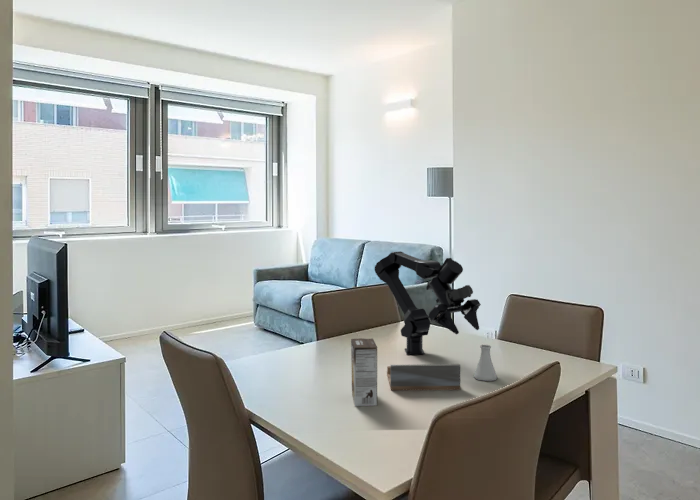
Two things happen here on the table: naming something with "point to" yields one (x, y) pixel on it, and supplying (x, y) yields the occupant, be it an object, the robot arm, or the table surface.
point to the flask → (485, 366)
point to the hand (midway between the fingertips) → (468, 331)
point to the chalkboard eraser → (424, 377)
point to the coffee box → (364, 372)
